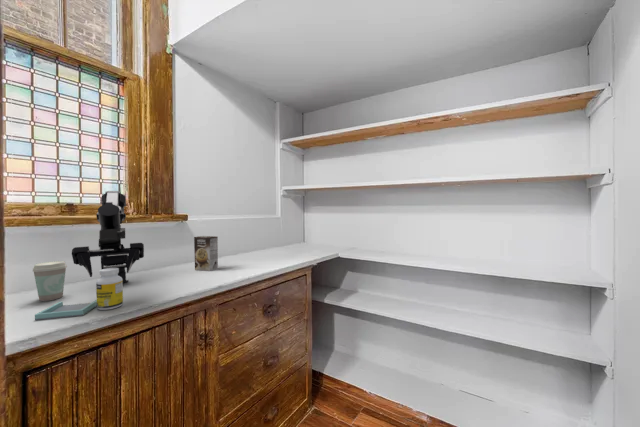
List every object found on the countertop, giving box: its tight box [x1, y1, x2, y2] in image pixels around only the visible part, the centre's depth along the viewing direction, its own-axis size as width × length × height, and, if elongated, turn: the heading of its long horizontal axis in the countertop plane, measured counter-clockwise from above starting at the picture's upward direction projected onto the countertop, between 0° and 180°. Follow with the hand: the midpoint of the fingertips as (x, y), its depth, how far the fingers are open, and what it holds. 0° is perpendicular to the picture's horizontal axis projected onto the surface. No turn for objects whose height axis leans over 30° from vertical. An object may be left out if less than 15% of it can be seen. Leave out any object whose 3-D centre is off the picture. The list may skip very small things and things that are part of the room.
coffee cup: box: [32, 260, 68, 302], centre depth 96 cm, size 9×8×12 cm
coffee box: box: [193, 235, 219, 272], centre depth 138 cm, size 9×6×16 cm
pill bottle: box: [95, 268, 124, 311], centre depth 86 cm, size 6×6×12 cm
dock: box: [34, 299, 97, 321], centre depth 84 cm, size 11×11×2 cm
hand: (109, 274), depth 88 cm, fingers open, 9 cm apart
